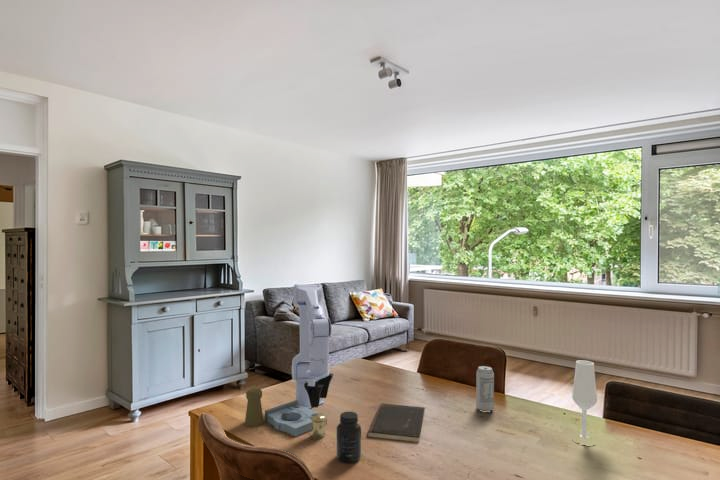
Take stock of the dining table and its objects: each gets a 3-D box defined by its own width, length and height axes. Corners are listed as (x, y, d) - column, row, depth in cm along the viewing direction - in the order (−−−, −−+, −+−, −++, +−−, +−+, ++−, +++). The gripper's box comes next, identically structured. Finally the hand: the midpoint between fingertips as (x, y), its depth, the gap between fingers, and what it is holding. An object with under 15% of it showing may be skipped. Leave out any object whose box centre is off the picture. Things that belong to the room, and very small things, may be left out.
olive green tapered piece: (258, 427, 138) (258, 392, 138) (241, 425, 139) (241, 391, 139) (266, 419, 144) (266, 386, 144) (249, 418, 145) (249, 385, 145)
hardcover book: (424, 413, 152) (424, 407, 152) (419, 444, 129) (419, 436, 129) (379, 409, 155) (379, 403, 155) (367, 438, 133) (367, 431, 133)
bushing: (319, 430, 136) (319, 411, 136) (330, 435, 133) (330, 416, 133) (307, 435, 133) (307, 416, 133) (317, 441, 129) (317, 421, 129)
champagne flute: (587, 448, 127) (588, 366, 126) (566, 438, 133) (567, 360, 132) (601, 443, 130) (602, 363, 130) (580, 434, 136) (582, 358, 136)
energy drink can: (491, 407, 157) (492, 365, 157) (495, 413, 151) (495, 370, 151) (474, 406, 158) (475, 365, 158) (477, 412, 152) (478, 370, 152)
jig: (296, 410, 152) (296, 400, 152) (326, 423, 141) (326, 413, 141) (262, 422, 142) (262, 411, 142) (292, 437, 131) (292, 426, 131)
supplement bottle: (335, 452, 123) (336, 409, 123) (359, 451, 123) (360, 409, 123) (336, 464, 116) (337, 420, 116) (362, 463, 117) (362, 419, 117)
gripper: (315, 351, 141) (314, 392, 141) (298, 363, 127) (297, 409, 127) (335, 352, 139) (335, 394, 139) (321, 365, 125) (320, 412, 125)
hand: (318, 402), depth 133 cm, fingers open, 7 cm apart
